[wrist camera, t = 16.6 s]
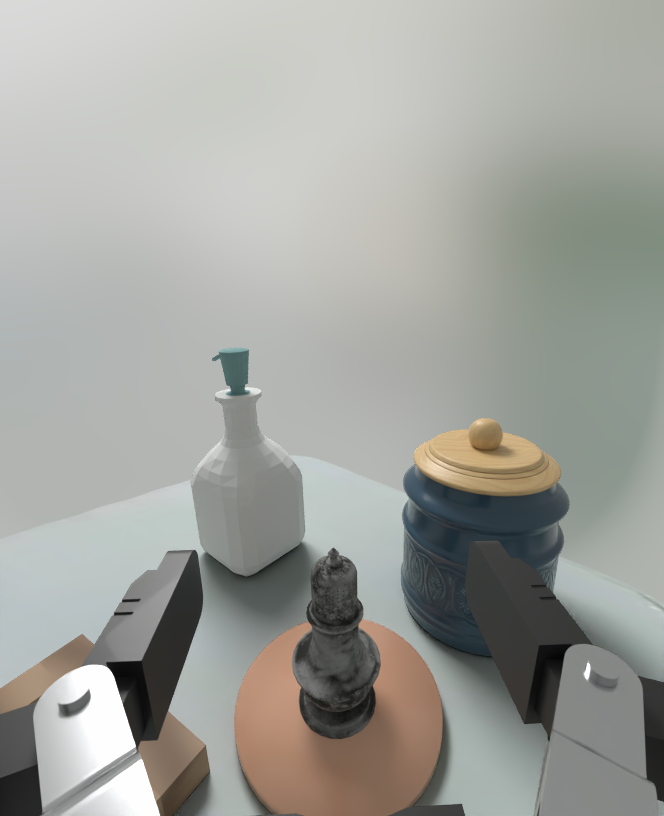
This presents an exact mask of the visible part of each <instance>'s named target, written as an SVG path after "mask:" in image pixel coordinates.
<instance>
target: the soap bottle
mask: <svg viewBox="0 0 664 816" xmlns="http://www.w3.org/2000/svg"><path fill="white" fill-rule="evenodd" d="M248 356H249V350H248V349H246V348H228V349H224V350H220V351H219V355H217V356H215V357H214V358H213V359H212V360H213V361H216V360H218V359H219V358H220V359H221V363H222V367H223V371H224V375H225V380H226V384H227V385H228V386H230V388H231V389H227V390H223V391H219V392H217V393H216V394H215V400H216V401H218V402H219V403H220V404H221V405H222V406H223V411H224V419H225V432H224V436H223V438H222V440H221V441H220V442H219V443H218V444H217V445H216V446H215V447H214V448H213V449H211V450H210V451H209V453H208V454H207V455H206V456H205V457H204V459H203V460H202V461H201V462H200V463H199V465H198V466H197V467H196V469H195V471H194V473H193V475H192V479H191V487H192V493H193V499H194V506H195V512H196V518H197V525H198V531H199V537H200V543H201V545H202V547H203V549H204V550H205V551H206V552H207V553H209V554H210V555H211V556H213V557H214V558H215V559H217V560H218V561H219V562H221V563H222V564H223V565H225V566H226V567H227V568H229V569H230V570H231V571H233V572H234V573H236V574H240V575H243V576H246V577H247V576H250V575H253V574H255V573H257V572H258V571H260V570H261V569H263V568H264V567H266V566H267V565H269V564H270V563H272V562H273V561H275V560H276V559H278V558H280V557H281V556H283V555H284V554H286V553H287V552H289V551H290V550H292V549H293V548H295V547H296V546H298V545H299V544H300V542H301V541H302V539H303V537H304V534H305V520H304V503H303V486H302V475H301V472H300V470H299V468H298V467H297V465H296V464H295V463H294V461H293V460H292V458H291V457H290V456H289V455H288V453H287V452H286V451H285V450H284V449H283V448H282V447H280V446H279V445H278V444H277V443H275V442H273V441H272V440H270V439H269V438H267V437H265V436H264V435H263V434H262V433H261V431H260V430H259V427H258V425H257V414H256V401H257V400H258V399H259V397H261V390H259V389H256V388H245V384H247V383H248Z"/></svg>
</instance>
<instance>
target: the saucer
mask: <svg viewBox="0 0 664 816" xmlns="http://www.w3.org/2000/svg"><path fill="white" fill-rule="evenodd" d="M359 628H360V629H362V630H364V631H365V632H366V633H367V634H369V635H370V636H371V638H372V639H373V640H374V642H375V643H376V645H377V647H378V650H379V652H380V661H381V666H380V671H379V675H378V677H377V679H376V681H375V682H374V684H373V688H374V691H375V698H376V705H375V710H374V714H373V716H372V718H371V720H370V722H369V723H368V724H367V725H366V726H365V728H364V729H363V730H362V731H360V732H359V733H357V734H355V735H353V736H351V737H347V738H343V739H330V738H327V737H324V736H321V735H319V734H317V733H316V732H314V731H313V730H312V729H310V727H309V726H308V725H307V724H306V722H305V721H304V719H303V717H302V715H301V712H300V707H299V694H300V689H301V686H300V685H299V684H298V683H297V680H296V678H295V676H294V674H293V668H292V657H293V651H294V649H295V647H296V645H297V643H298V641H299V640H300V639H301V638H302V637H303V635H304V634H306V633H307V632H308V631H310V630H311V629H312V626H311V625H310V623H309V621H308V622H305V623H302V624H300V625H297V626H295V627H293V628H291V629H289V630H288V631H286V632H284V633H283V634H281V635H280V636H278V637H277V638H276V639H274V640H273V641H272V642H271V643H270V644H269V645H268V646H266V647H265V648H264V649H263V651H262V652H261V653H260V654H259V655H258V656H257V658H256V659H255V660H254V662H253V663H252V665H251V666H250V668H249V670H248V672H247V674H246V676H245V678H244V679H243V682H242V685H241V688H240V690H239V694H238V698H237V702H236V709H235V718H234V719H235V737H236V744H237V750H238V756H239V760H240V764H241V767H242V770H243V773H244V775H245V777H246V779H247V782H248V784H249V786H250V788H251V789H252V791H253V792H254V794H255V795H256V796H257V798H258V799H259V801H260V802H261V803H262V804H263V805H264V806H265V807H266V808H267V809H268V810H269V812H270V813H272V814H273V815H275V814H293V813H297V814H300V815H304V816H388V815H391V814H393V813H395V812H398V811H400V810H402V809H405V808H407V807H412V806H413V805H414V804H415V803H416V802H417V801H418V800H419V798H420V797H421V796H422V794H423V793H424V791H425V789H426V788H427V786H428V785H429V783H430V781H431V778H432V776H433V774H434V772H435V769H436V766H437V762H438V759H439V755H440V749H441V742H442V729H443V713H442V706H441V699H440V695H439V692H438V688H437V685H436V683H435V680H434V678H433V675H432V673H431V672H430V670H429V668H428V666H427V664H426V663H425V662H424V660H423V659H422V657H421V656H420V655H419V654H418V653H417V651H416V650H415V649H414V648H413V647H412V646H411V645H410V644H409V643H408V642H406V641H405V640H404V639H403V638H402V637H400V636H399V635H397V634H396V633H395V632H393V631H391V630H389V629H387V628H386V627H384V626H381V625H379V624H377V623H374V622H371V621H367V620H364V619H362V620H361V622H360V623H359Z"/></svg>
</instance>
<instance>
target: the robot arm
mask: <svg viewBox="0 0 664 816" xmlns="http://www.w3.org/2000/svg"><path fill="white" fill-rule="evenodd" d="M465 592H466V598H467V602H468V605H469V608H470V610H471V612H472V614H473V617H474V619H475V621H476V623H477V625H478V627H479V629H480V631H481V633H482V636H483V638H484V640H485V642H486V644H487V646H488V648H489V650H490V652H491V655H492V657H493V659H494V661H495V663H496V665H497V667H498V669H499V671H500V674H501V676H502V678H503V680H504V682H505V684H506V686H507V688H508V691H509V693H510V695H511V697H512V699H513V701H514V703H515V705H516V707H517V710H518V712H519V714H520V716H521V718H522V720H523V722H524V724H535V723H542V725H543V727H544V728H545V730H546V732H547V734H548V736H547V741H546V746H545V752H544V758H543V764H542V769H541V775H540V781H539V787H538V793H537V799H536V804H535V810H534V816H658V804H657V800H660V801H663V802H664V682H660V681H656V680H651V679H647V678H643V677H640V676H637V674H636V673H635V672H634V670H633V669H632V668H631V667H630V666H629V665H628V664H627V663H626V662H624V661H623V660H622V659H621V658H619V657H618V656H616V655H615V654H613V653H611V652H610V651H607V650H605V649H603V648H600V647H598V646H594V645H593V644H592V643H591V642H590V641H589V639H588V638H587V637H586V635H585V634H584V633H583V631H582V630H581V629H580V628H579V626H578V625H577V624H576V622H575V621H574V620H573V618H572V617H571V616H570V614H569V613H568V612H567V611H566V609H565V608H564V607H563V605H562V604H561V603H560V601H559V600H556V596H555V595H554V594H553V592H552V591H551V590H550V588H549V587H547V584H546V583H545V582H544V581H543V579H542V578H541V577H540V575H539V574H538V573H537V571H536V570H535V569H533V568H532V567H531V566H529V565H528V564H526V563H525V562H524V561H522V560H521V559H520V558H511V557H510V556H509V554H508V553H507V551H506V550H505V549H504V547H503V546H502V544H501V543H500V542H499V541H472V542H471V543H470V546H469V553H468V562H467V572H466V581H465ZM202 606H203V591H202V583H201V576H200V568H199V561H198V554H197V552H196V550H182V551H168V552H167V553H166V555H165V556H164V558H163V560H162V562H161V564H160V565H159V567H158V569H157V570H147V571H146V572H145V573H144V574H143V575H141V576H140V577H139V578H138V579H137V580H136V581H135V582H133V583H132V584H131V586H130V588H129V589H128V591H127V592H126V594H125V596H124V597H123V599H122V603H120V604H119V605H118V607H117V609H116V610H115V612H114V616H112V617H111V619H110V620H109V622H108V623H107V625H106V627H105V628H104V630H103V632H102V633H101V635H100V636H99V638H98V640H97V641H96V643H95V645H94V646H93V648H92V650H91V651H90V653H89V654H88V656H87V658H86V659H85V661H84V663H83V664H82V666H81V667H80V668H78V669H75V670H73V671H71V672H69V673H67V674H65V675H64V676H62V677H61V678H59V679H58V680H57V681H55V682H54V683H53V684H52V685H51V686H50V687H49V688H48V689H47V690H46V691H45V692H44V693H43V695H42V696H41V697H40V699H39V701H38V702H35V703H33V704H30V705H27V706H24V707H21V708H18V709H15V710H12V711H9V712H5V713H2V714H0V816H160V814H159V811H158V807H157V804H156V801H155V798H154V795H153V792H152V789H151V786H150V783H149V780H148V777H147V773H146V770H145V767H144V764H143V761H142V758H141V755H140V753H139V750H138V747H139V744H140V742H141V741H155V740H158V738H159V735H160V732H161V729H162V726H163V723H164V721H165V718H166V715H167V712H168V709H169V706H170V703H171V700H172V697H173V695H174V692H175V689H176V686H177V683H178V680H179V677H180V674H181V671H182V669H183V666H184V663H185V660H186V657H187V654H188V651H189V648H190V645H191V643H192V640H193V637H194V634H195V631H196V628H197V625H198V622H199V619H200V616H201V612H202ZM257 816H304V815H300V814H297V813H293V814H275V815H257ZM388 816H465V814H464V810H463V807H462V804H453V805H435V806H418V807H407V808H405V809H402V810H400V811H398V812H395V813H393V814H391V815H388Z"/></svg>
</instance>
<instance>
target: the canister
mask: <svg viewBox="0 0 664 816" xmlns="http://www.w3.org/2000/svg"><path fill="white" fill-rule="evenodd" d="M414 462H415V464H414V465H413V466H411V467H410V468H409V469H408V471H407V472H406V473H405V476H404V479H403V486H404V490H405V492H406V494H407V495H408V497H409V500H408V501H407V503H406V504H405V506H404V508H403V513H402V520H403V524H404V556H403V563H402V567H401V585H402V590H403V593H404V598H405V602H406V605H407V607H408V609H409V611H410V613H411V615H412V616H413V617H414V619H415V620H416V621H417V622H418V624H419V625H420V626H421V627H422V628H423V629H425V630H426V631H427V632H428V633H429V634H431V635H432V636H434V637H435V638H437V639H438V640H440V641H441V642H443V643H445V644H447V645H449V646H451V647H454V648H456V649H459V650H462V651H465V652H468V653H472V654H477V655H483V656H492V655H491V652H490V650H489V648H488V646H487V644H486V642H485V640H484V638H483V636H482V633H481V631H480V629H479V627H478V625H477V623H476V621H475V619H474V617H473V614H472V612H471V610H470V608H469V605H468V602H467V598H466V592H465V581H466V572H467V562H468V553H469V546H470V543H471V542H472V541H499V542H500V543H501V544H502V546H503V547H504V549H505V550H506V551H507V553H508V554H509V556H510V557H511V558H520V559H521V560H522V561H524V562H525V563H526V564H528V565H529V566H531V567H532V568H533V569H535V570H536V571H537V573H538V574H539V575H540V577H541V578H542V579H543V581H544V582H545V583H546V584H547V587H549V588H550V590H551V591H552V592H553V589H554V583H555V576H556V570H557V564H558V557H559V554H560V553H561V551H562V548H563V544H564V536H563V532H562V530H561V528H560V526H559V521H560V520H561V519H562V518H563V517H564V516H565V515H566V514H567V512H568V509H569V505H570V504H569V498H568V495H567V493H566V491H565V490H564V489H563V487H562V486H561V485H560V484H559V483H558V481H559V479H560V477H561V469H560V466H559V465H558V463H557V462H556V461H555V460H554V459H553V458H552V457H550V456H549V455H548V454H546V453H544V452H543V451H541V450H540V449H539V448H538V447H537V446H536V445H535V444H533V443H532V442H530V441H528V440H526V439H524V438H521V437H518V436H515V435H511V434H508V433H503V432H502V429H501V427H500V425H499V424H498V423H497V422H496V421H494V420H492V419H487V418H482V419H478V420H476V421H475V422H474V423H473V424H472V425H471V426H470V428H469V429H463V430H454V431H449V432H445V433H442V434H440V435H438V436H436V437H435V438H434V439H432V440H430V441H427V442H425V443H423V444H422V445H420V446H419V447H418V448H417V449H416V451H415V453H414Z"/></svg>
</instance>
